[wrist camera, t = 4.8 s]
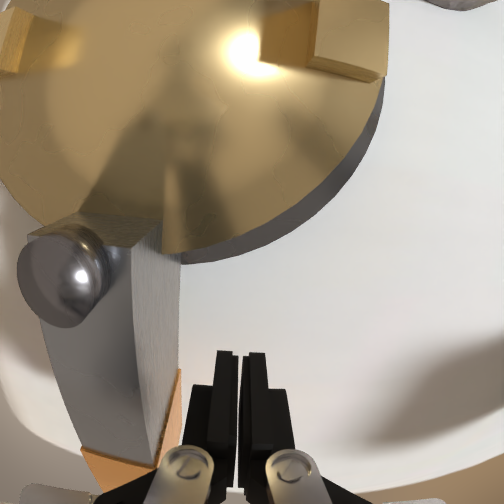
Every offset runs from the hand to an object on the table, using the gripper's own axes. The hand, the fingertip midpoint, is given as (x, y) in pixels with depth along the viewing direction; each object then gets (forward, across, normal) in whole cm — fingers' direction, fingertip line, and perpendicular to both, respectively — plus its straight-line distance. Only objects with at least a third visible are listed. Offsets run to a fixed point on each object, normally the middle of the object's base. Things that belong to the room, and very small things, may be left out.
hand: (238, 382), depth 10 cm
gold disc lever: (+2, +3, -6) cm, 7 cm away
